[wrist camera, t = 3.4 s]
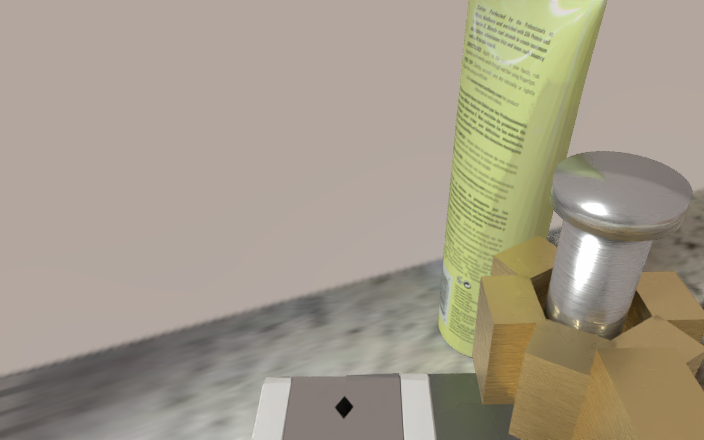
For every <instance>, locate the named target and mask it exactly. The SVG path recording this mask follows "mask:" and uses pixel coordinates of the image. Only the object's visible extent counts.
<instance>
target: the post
mask: <svg viewBox="0 0 704 440" xmlns="http://www.w3.org/2000/svg"><path fill="white" fill-rule="evenodd" d="M691 198H692V188H691V186H690V184H689V182H688V181H687V180H686V179H685V178H684V177H683V176H682V175H681V174H680V173H678V172H677V171H675V170H674V169H672V168H670V167H668V166H666V165H664V164H662V163H660V162H657V161H655V160H652V159H649V158H645V157H641V156H638V155H633V154H628V153H621V152H609V151H597V152H586V153H581V154H576V155H573V156H571V157H568V158H566V159H564V160H563V161H561V162H560V163H559V164H558V165H557V167H556V169H555V171H554V177H553V182H552V187H551V192H550V203H551V205H552V208H553V209H554V211H555V212H556V213H557V214H558V215H559V216H560V217H561V218H562V219H563V224H562V229H561V233H560V238H559V243H558V247H557V252H556V257H555V261H554V266H553V270H552V275H551V280H550V284H549V289H548V294H547V298H546V303H545V308H544V312H543V313H544V316H545V319H548V320H551V321H554V322H557V323H560V324H563V325H566V326H569V327H572V328H575V329H578V330H581V331H584V332H587V333H590V334H593V335H596V336H599V337H602V338H605V339H608V340H612V339H614V338H616V337H618V336H619V335H621V332H622V329H623V326H624V323H625V320H626V317H627V314H628V312H629V309H630V306H631V303H632V300H633V297H634V294H635V291H636V288H637V286H638V283H639V280H640V277H641V274H642V271H643V268H644V265H645V262H646V260H647V257H648V254H649V251H650V248H651V245H652V242H653V240H657V239H661V238H664V237H667V236H669V235H671V234H673V233H674V232H676V231H677V230H678V229H679V228H680V226H681V225H682V222H683V219H684V217H685V214H686V211H687V209H688V206H689V203H690V201H691ZM428 377H429V381H430V389H431V397H432V405H433V413H434V421H435V429H436V437H437V440H521V439H519V438H517V437H515V436H513V435H510V434H508V433H509V428H510V423H511V418H512V413H513V408H514V404H489V405H482V400H481V395H480V391H479V386H478V381H477V377H476V373H466V374H428Z"/></svg>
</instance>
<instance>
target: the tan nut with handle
mask: <svg viewBox="0 0 704 440" xmlns="http://www.w3.org/2000/svg"><path fill="white" fill-rule="evenodd" d="M556 252H557V247H556V246H555V245H553V244H552V243H550V242H549V241H547V240H546V239H544V238H543V237H541V236H540V235H538V236H536V237H534V238H531V239H529V240H527V241H525V242H522V243H520V244H518V245H515V246H513V247H511V248H509V249H506V250H504V251H502V252H499V253H497V254H495V255H493V263H492V271H491V276H481V280H480V288H479V297H478V306H477V315H476V324H475V333H474V341H473V350H472V358H473V362H474V367H475V372H476V377H477V381H478V386H479V391H480V395H481V400H482V405H489V404H514V408H513V413H512V418H511V423H510V428H509V433H508V434H510V435H513V436H515V437H517V438H519V439H521V440H704V391H703V389H702V388H701V386H700V385H699V383H698V381H697V380H696V378H695V375H696V373H697V371H698V369H699V367H700V365H701V363H702V361H703V359H704V345H702V344H701V343H699V342H700V340H701V338H702V336H703V334H704V310H703V309H702V307H701V306H700V305H699V303H698V302H697V301H696V299H695V298H694V296H693V295H692V294H691V292H690V291H689V290H688V288H687V287H686V286H685V284H684V283H683V282H682V280H681V279H680V278H679V276H678V275H677V274H676V272H675V271H662V272H642V274H641V277H640V280H639V283H638V286H637V288H636V291H635V294H634V297H633V300H632V303H631V306H630V309H629V312H628V314H627V317H626V320H625V323H624V326H623V329H622V332H621V335H619V336H618V337H616V338H614V339H612V340H608V339H605V338H602V337H599V336H596V335H593V334H590V333H587V332H584V331H581V330H578V329H575V328H572V327H569V326H566V325H563V324H560V323H557V322H554V321H551V320H548V319H545V316H544V313H543V312H544V308H545V303H546V298H547V294H548V289H549V284H550V280H551V275H552V270H553V266H554V261H555V257H556Z"/></svg>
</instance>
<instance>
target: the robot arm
mask: <svg viewBox="0 0 704 440" xmlns="http://www.w3.org/2000/svg"><path fill="white" fill-rule="evenodd" d="M252 440H437V437H436V429H435V421H434V413H433V405H432V397H431V389H430V381H429V377H428V374H427V373H412V374H400V376H399V373H393V374H369V375H346V377H266V380H265V382H264V384H263V386H262V391H261V396H260V401H259V406H258V411H257V416H256V421H255V426H254V431H253V435H252Z"/></svg>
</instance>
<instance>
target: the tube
mask: <svg viewBox="0 0 704 440" xmlns="http://www.w3.org/2000/svg"><path fill="white" fill-rule="evenodd" d="M606 4H607V0H469V2H468V11H467V20H466V30H465V39H464V49H463V59H462V69H461V79H460V89H459V99H458V109H457V119H456V129H455V140H454V151H453V161H452V172H451V183H450V192H449V203H448V214H447V225H446V235H445V246H444V257H443V269H442V281H441V292H440V304H439V318H438V324H439V330H440V332H441V334H442V336H443V338H444V339H445V341H446V342H447V343H448V344H449V345H450V346H451V347H452V348H454V349H455V350H457V351H458V352H460V353H462V354H464V355H467V356H469V357H472V350H473V341H474V333H475V324H476V315H477V306H478V297H479V288H480V280H481V276H491V271H492V263H493V255H495V254H497V253H499V252H502V251H504V250H506V249H509V248H511V247H513V246H515V245H518V244H520V243H522V242H525V241H527V240H529V239H531V238H534V237H536V236H538V235H540V236H541V237H543V238H544V239H546V240H547V236H548V231H549V227H550V223H551V219H552V214H553V210H554V209H553V208H552V205H551V203H550V192H551V187H552V182H553V177H554V171H555V169H556V167H557V165H558V164H559V163H560V162H561V161H563V160H564V159H566V156H567V153H568V149H569V144H570V141H571V136H572V132H573V128H574V124H575V120H576V116H577V112H578V107H579V104H580V100H581V95H582V91H583V87H584V83H585V79H586V75H587V72H588V68H589V65H590V61H591V57H592V54H593V50H594V47H595V43H596V39H597V36H598V32H599V29H600V25H601V22H602V18H603V14H604V11H605V7H606Z"/></svg>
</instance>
